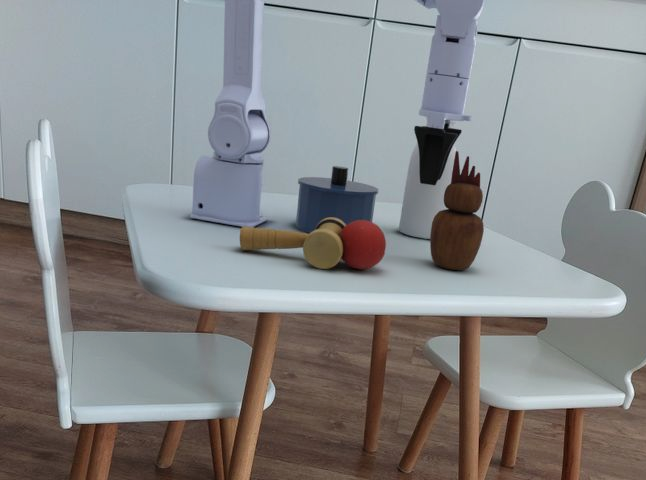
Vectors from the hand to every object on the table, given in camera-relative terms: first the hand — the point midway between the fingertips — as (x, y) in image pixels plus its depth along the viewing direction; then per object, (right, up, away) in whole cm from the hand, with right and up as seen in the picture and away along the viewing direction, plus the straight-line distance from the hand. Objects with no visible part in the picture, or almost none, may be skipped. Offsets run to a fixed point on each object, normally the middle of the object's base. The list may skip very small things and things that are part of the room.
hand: (430, 181), depth 95 cm
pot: (-14, -5, +11) cm, 18 cm away
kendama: (-16, -13, -9) cm, 22 cm away
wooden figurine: (+2, -12, -3) cm, 13 cm away
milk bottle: (0, -5, +17) cm, 17 cm away
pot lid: (-13, +1, +8) cm, 15 cm away
